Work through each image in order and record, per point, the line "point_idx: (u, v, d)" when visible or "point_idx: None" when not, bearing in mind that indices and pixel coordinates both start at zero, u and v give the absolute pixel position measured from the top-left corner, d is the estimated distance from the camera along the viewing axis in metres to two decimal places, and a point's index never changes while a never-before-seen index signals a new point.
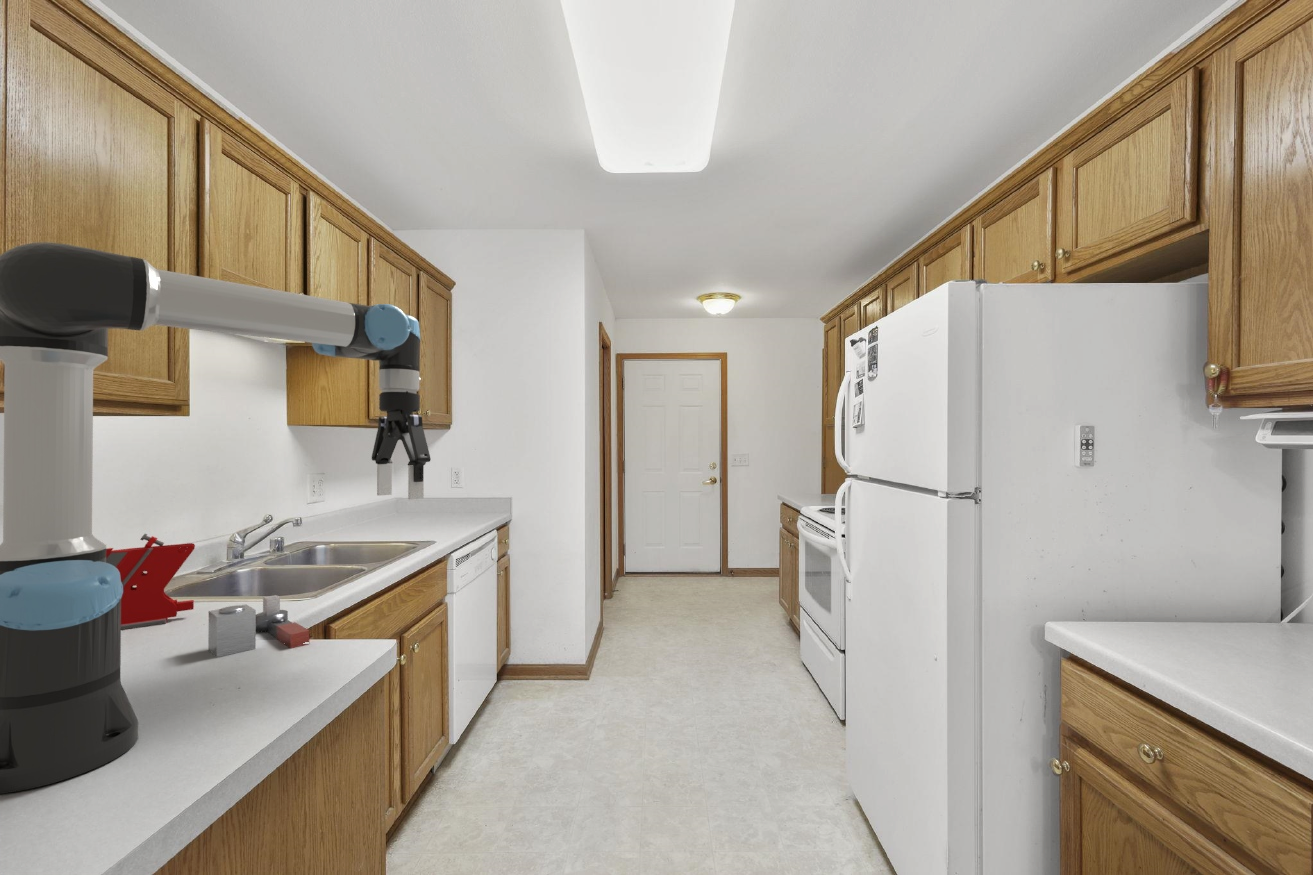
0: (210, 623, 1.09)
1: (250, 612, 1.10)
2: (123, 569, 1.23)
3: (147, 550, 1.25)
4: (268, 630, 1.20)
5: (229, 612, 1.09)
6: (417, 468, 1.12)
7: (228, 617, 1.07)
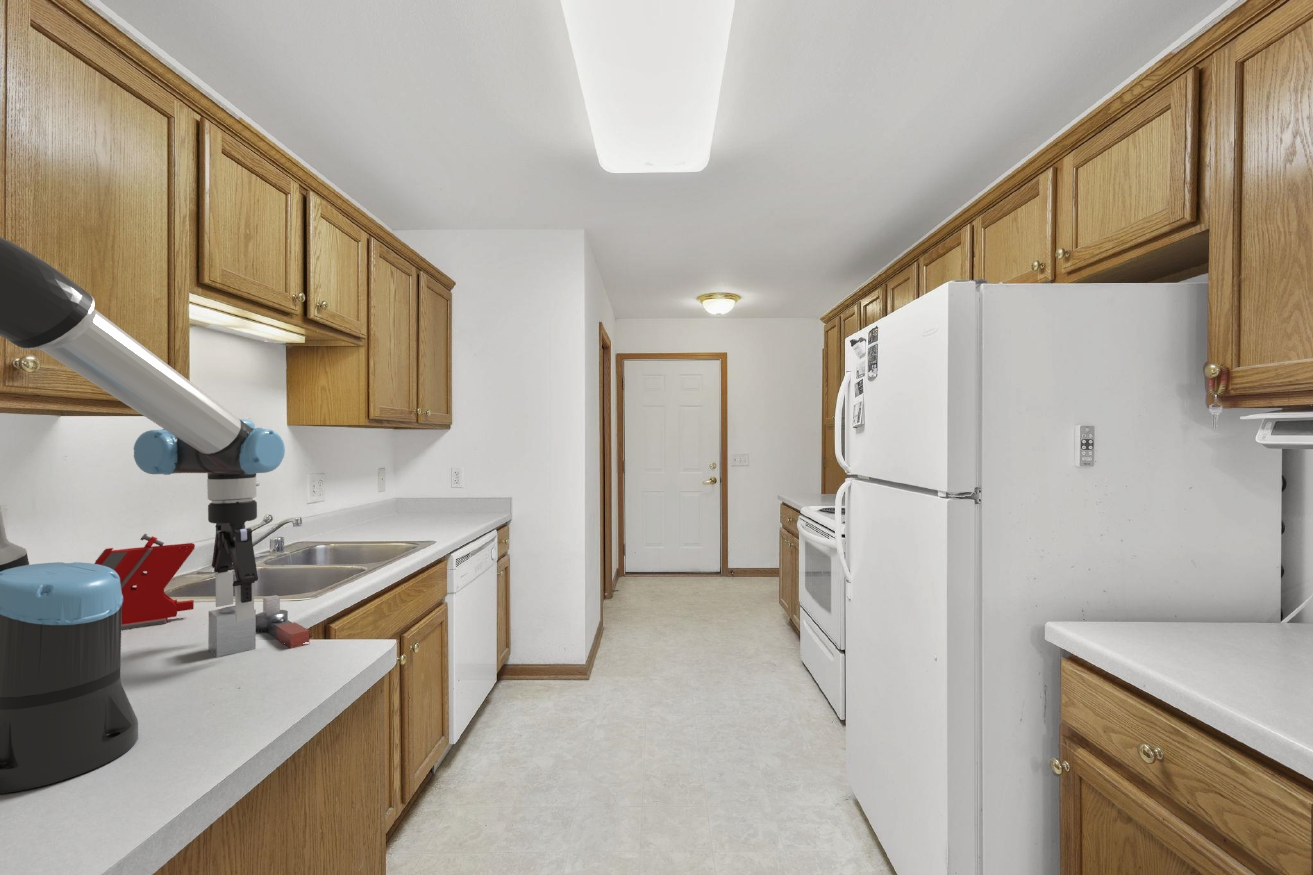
0: (210, 623, 1.09)
1: None
2: (123, 568, 1.23)
3: (147, 550, 1.25)
4: (268, 630, 1.20)
5: (229, 612, 1.09)
6: (243, 588, 1.05)
7: (228, 617, 1.07)
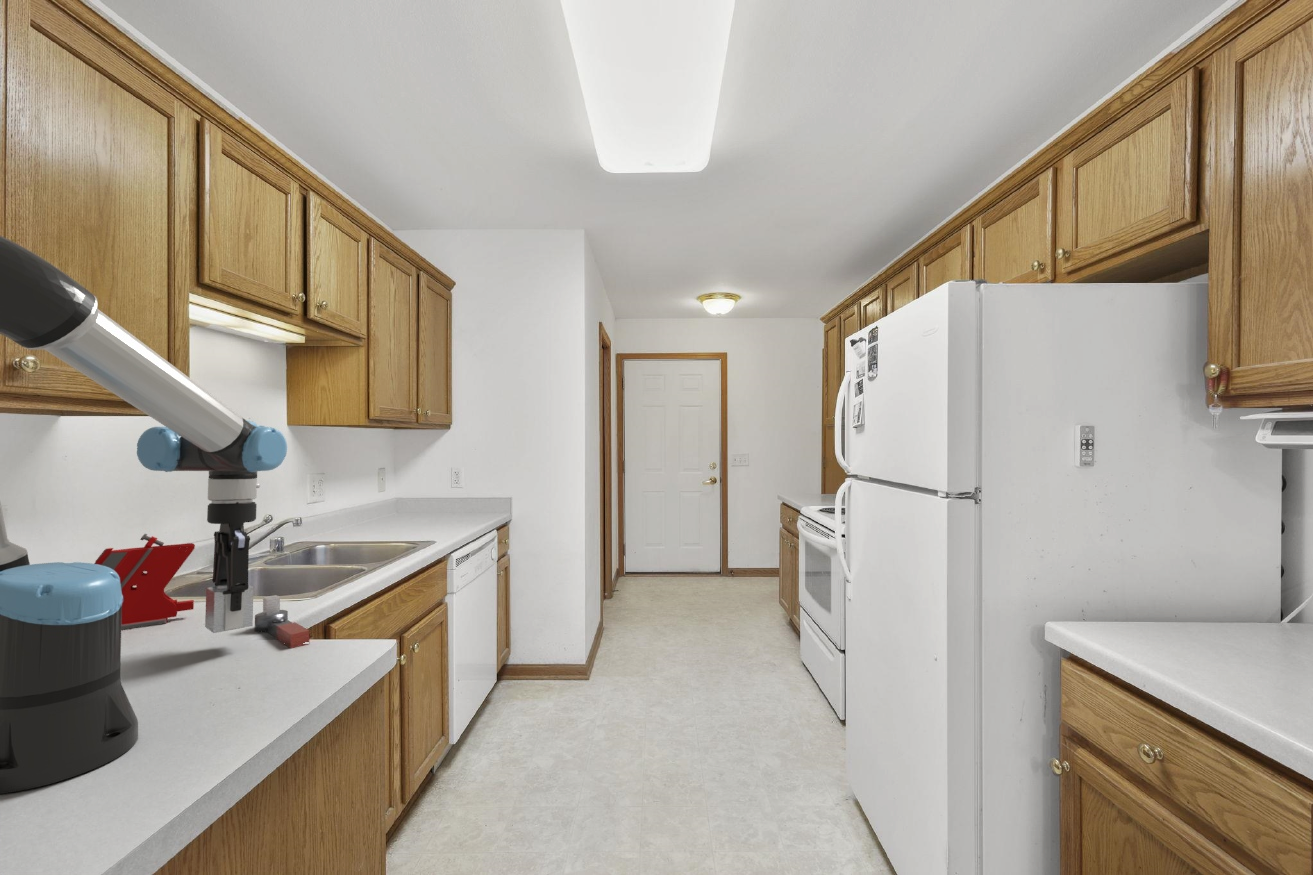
0: (207, 599, 1.09)
1: None
2: (123, 569, 1.23)
3: (147, 550, 1.25)
4: (268, 630, 1.20)
5: None
6: (233, 597, 1.06)
7: None
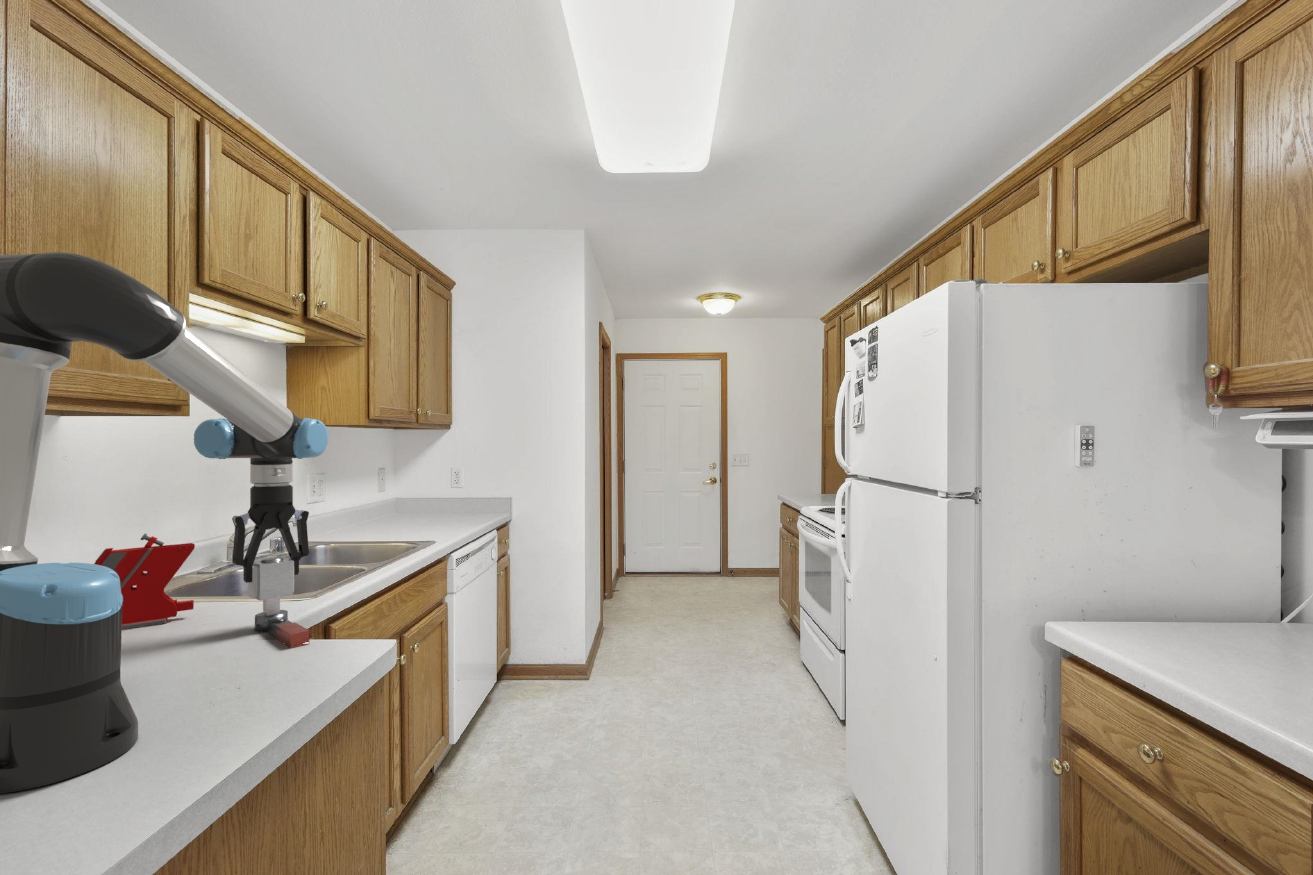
0: None
1: (258, 565, 1.20)
2: (123, 568, 1.23)
3: (147, 550, 1.25)
4: (268, 630, 1.20)
5: (260, 560, 1.22)
6: (243, 569, 1.20)
7: (253, 564, 1.22)
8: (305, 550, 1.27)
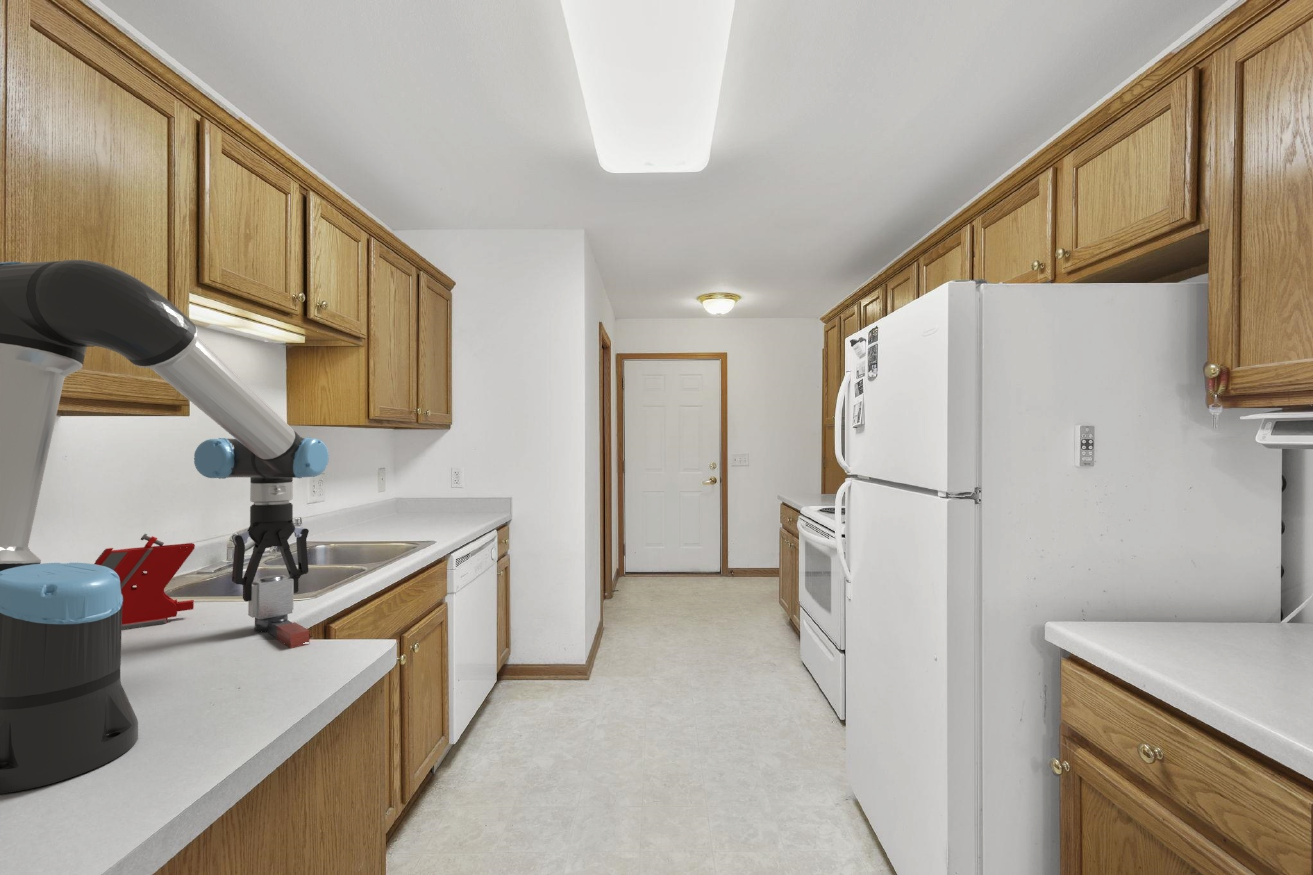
0: None
1: (257, 584, 1.19)
2: (123, 568, 1.23)
3: (147, 550, 1.25)
4: (268, 630, 1.20)
5: (260, 579, 1.22)
6: (243, 588, 1.20)
7: (253, 582, 1.22)
8: (305, 568, 1.27)
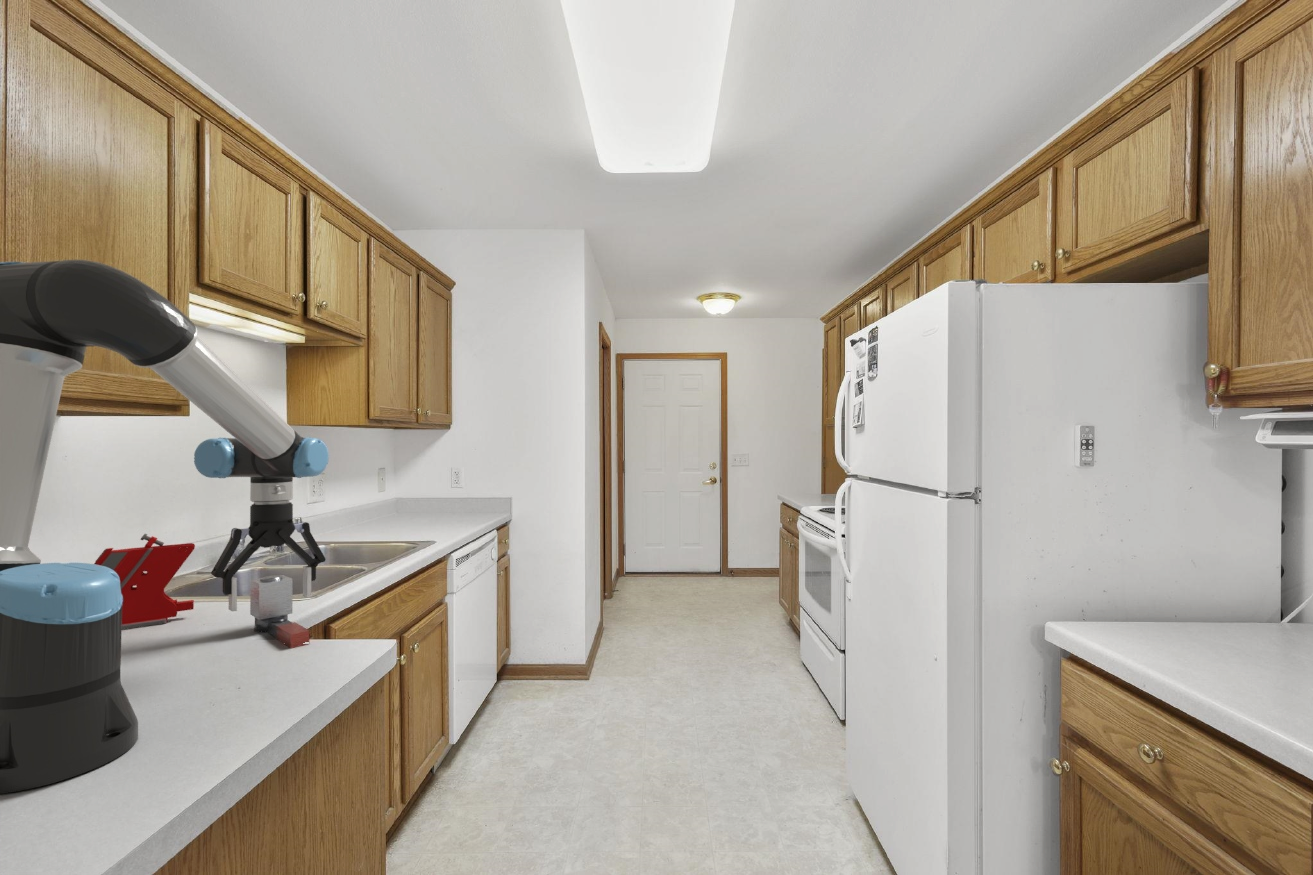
0: None
1: (257, 584, 1.19)
2: (123, 568, 1.23)
3: (147, 550, 1.25)
4: (268, 630, 1.20)
5: (260, 579, 1.22)
6: None
7: (253, 583, 1.22)
8: (321, 557, 1.29)
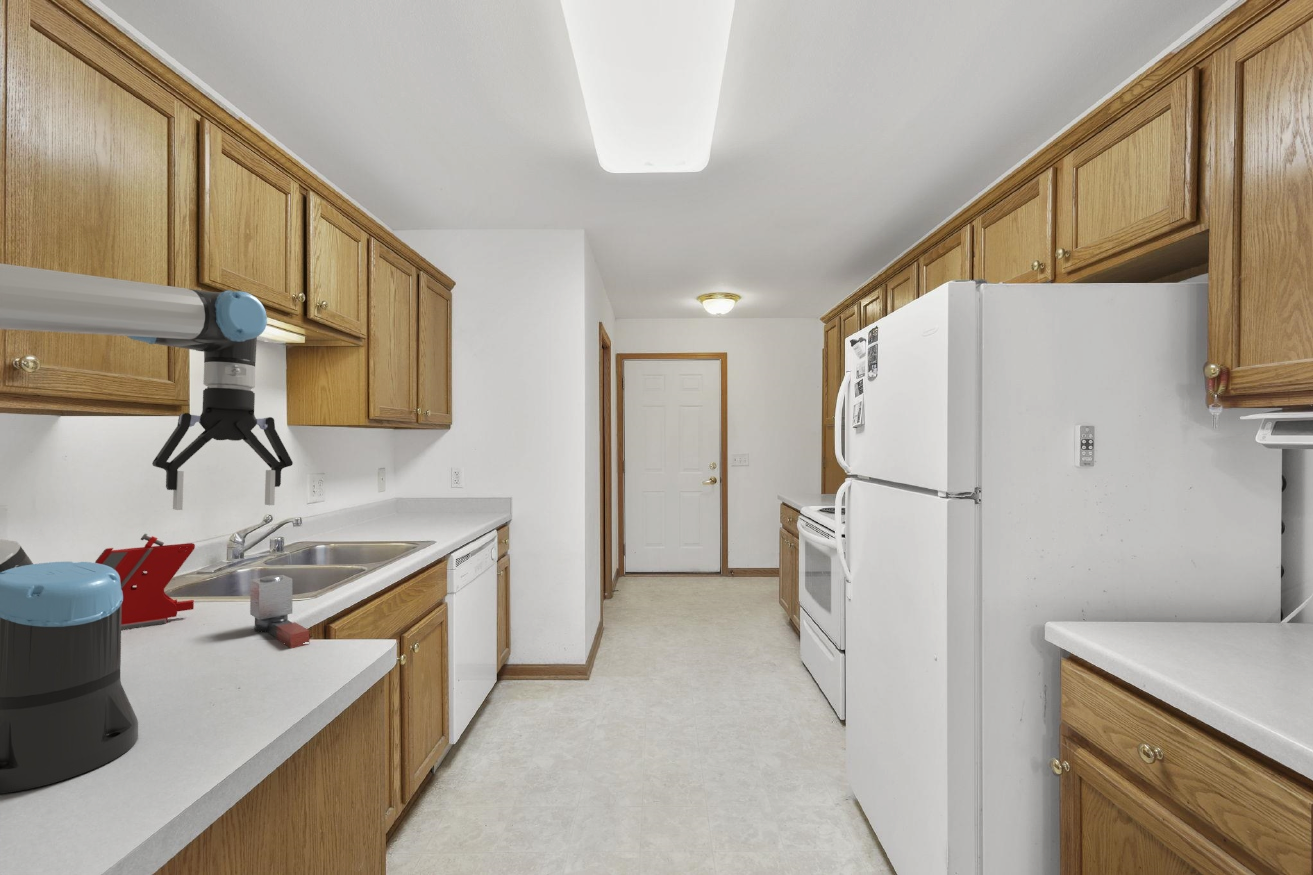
0: None
1: (257, 584, 1.19)
2: (123, 568, 1.23)
3: (147, 550, 1.25)
4: (268, 630, 1.20)
5: (260, 579, 1.22)
6: (166, 474, 0.98)
7: (253, 583, 1.22)
8: (287, 460, 1.11)
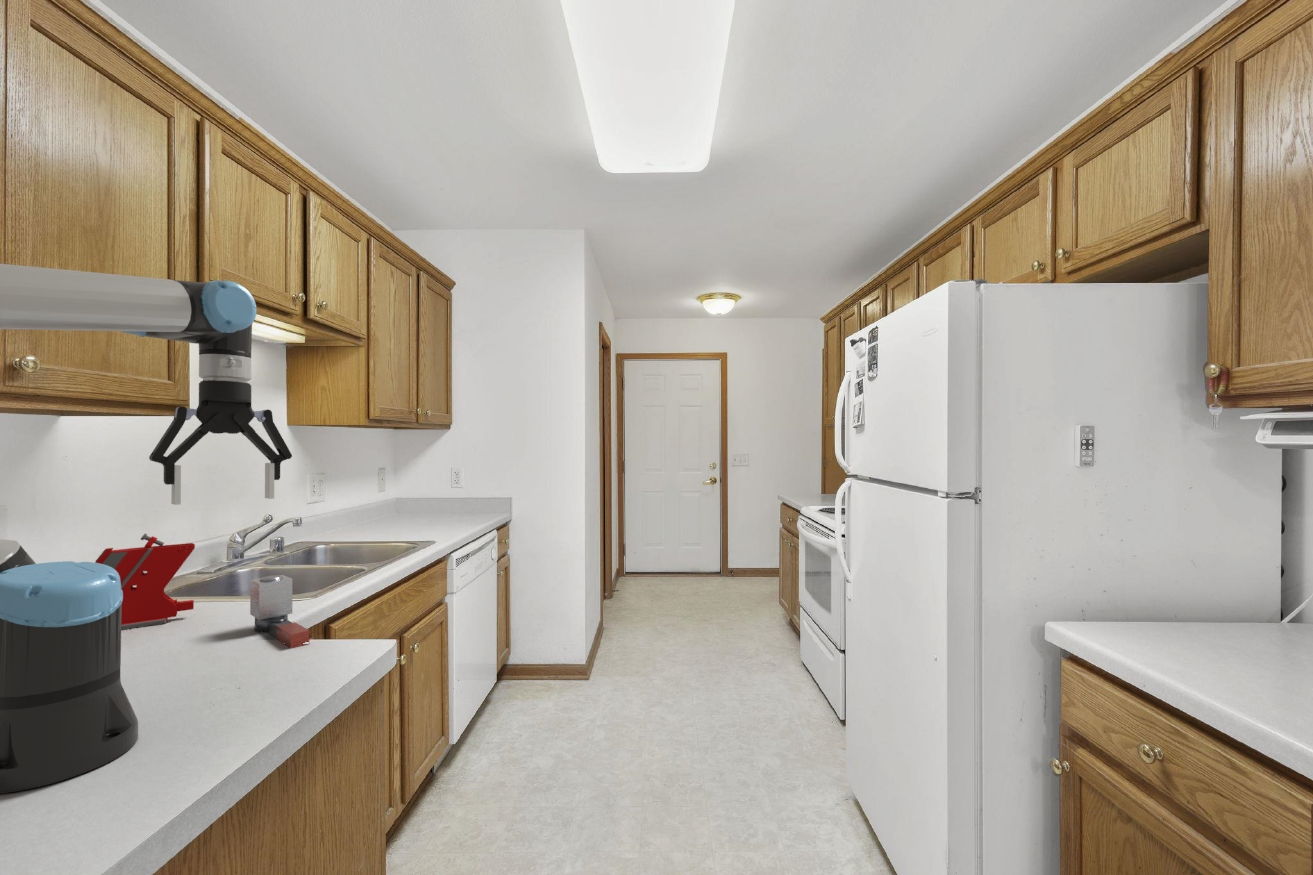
0: None
1: (257, 584, 1.19)
2: (123, 568, 1.23)
3: (147, 550, 1.25)
4: (268, 630, 1.20)
5: (260, 579, 1.22)
6: None
7: (253, 583, 1.22)
8: (286, 452, 1.09)
